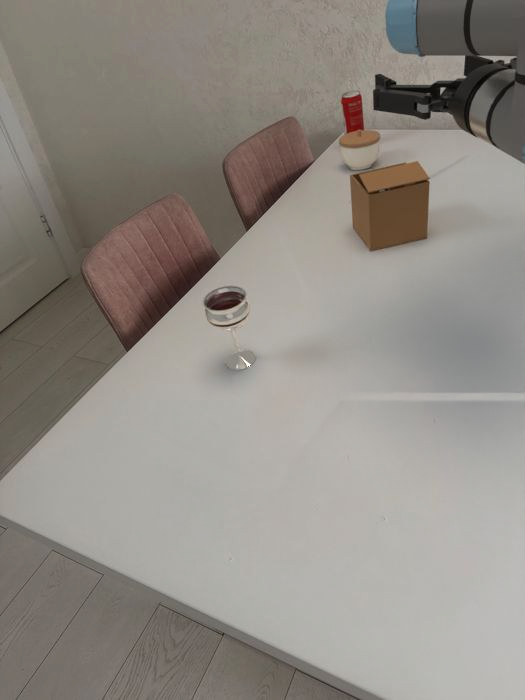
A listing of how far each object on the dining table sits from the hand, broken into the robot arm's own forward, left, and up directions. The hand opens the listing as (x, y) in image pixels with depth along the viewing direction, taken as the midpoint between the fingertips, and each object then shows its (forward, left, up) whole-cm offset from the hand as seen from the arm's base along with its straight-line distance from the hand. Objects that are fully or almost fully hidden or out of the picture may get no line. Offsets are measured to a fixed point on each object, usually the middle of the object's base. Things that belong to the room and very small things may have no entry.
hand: (422, 74), depth 73 cm
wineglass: (+23, +31, -32) cm, 51 cm away
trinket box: (+21, -51, -32) cm, 64 cm away
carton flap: (+6, -10, -19) cm, 22 cm away
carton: (+7, -13, -32) cm, 35 cm away
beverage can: (+26, -66, -32) cm, 78 cm away
